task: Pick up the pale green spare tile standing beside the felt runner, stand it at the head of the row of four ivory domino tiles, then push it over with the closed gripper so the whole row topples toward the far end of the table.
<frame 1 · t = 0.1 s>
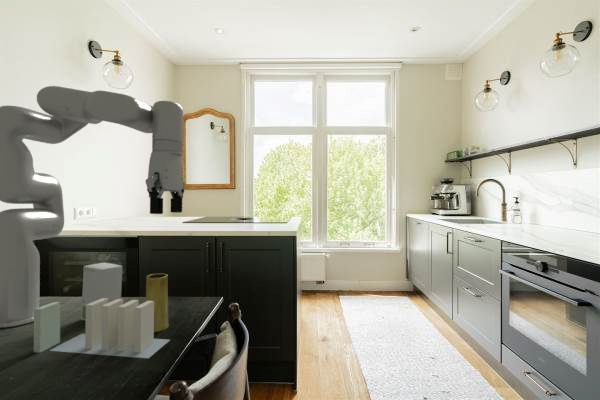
hand: (166, 213, 83), 31 cm above the table, fingers open, 9 cm apart
vase: (156, 329, 83), on the table
tile 3: (112, 344, 73), resting on runner mat
tile 2: (96, 343, 73), resting on runner mat
head tile: (47, 348, 72), on the table
tile 4: (128, 346, 72), resting on runner mat
runner mat: (112, 346, 73), on the table
skincare box: (101, 319, 90), on the table
tile 5: (144, 347, 72), resting on runner mat
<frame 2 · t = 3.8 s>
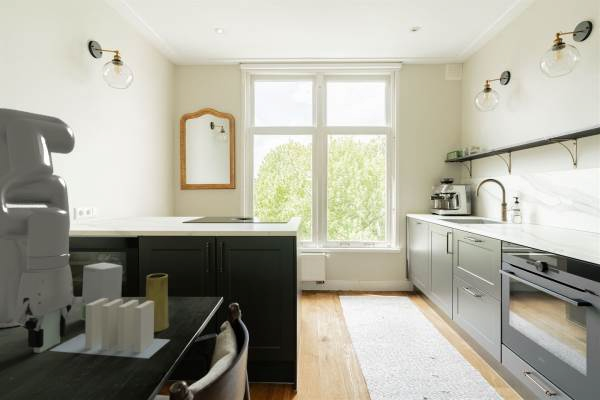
hand: (47, 340, 71), 2 cm above the table, fingers closed on head tile, 4 cm apart
head tile: (47, 348, 71), on the table, touching gripper
everything else where it was.
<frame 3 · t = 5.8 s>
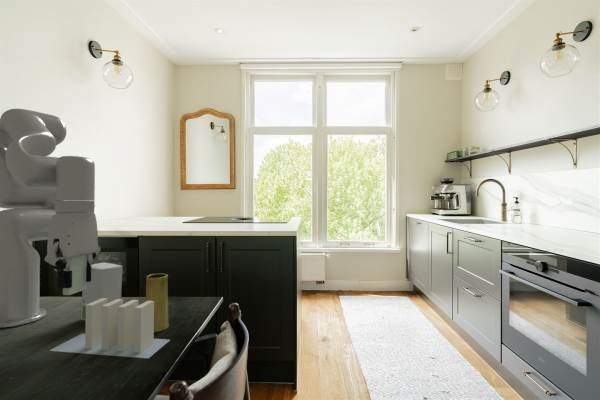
hand: (74, 283, 74), 14 cm above the table, fingers closed on head tile, 4 cm apart
head tile: (75, 291, 74), point 12 cm above the table, touching gripper
everything else where it was.
when the fingers open (3 cm above the table, at t = 8.1 s): head tile stays where it is, resting on runner mat.
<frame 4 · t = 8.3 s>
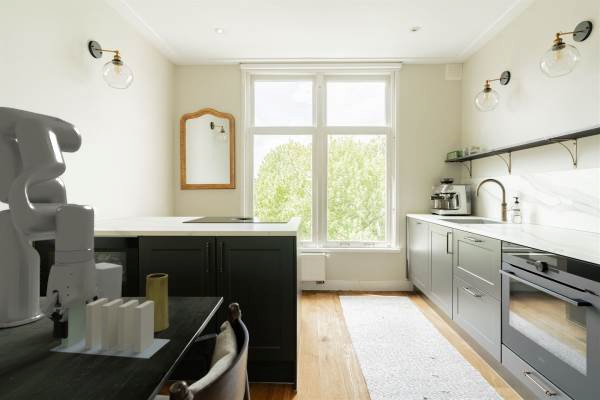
hand: (74, 330, 74), 3 cm above the table, fingers open, 6 cm apart
head tile: (74, 342, 74), resting on runner mat
everything else where it was.
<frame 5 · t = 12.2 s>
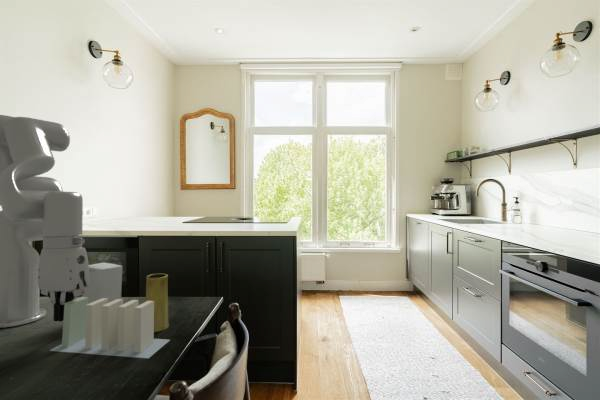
hand: (62, 319, 74), 6 cm above the table, fingers closed
head tile: (74, 341, 74), resting on runner mat, touching gripper
everything else where it was.
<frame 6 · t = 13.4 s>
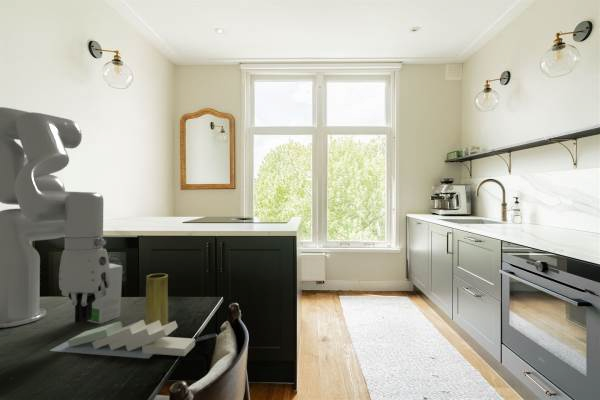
hand: (83, 320, 74), 6 cm above the table, fingers closed
tile 3: (117, 342, 73), point 1 cm above the table, tilted 66°, touching runner mat, tile 2, tile 4
tile 2: (101, 341, 73), point 1 cm above the table, tilted 66°, touching head tile, runner mat, tile 3
head tile: (77, 339, 74), point 1 cm above the table, tilted 72°, touching runner mat, tile 2
tile 4: (133, 343, 72), point 1 cm above the table, tilted 66°, touching tile 3, tile 5
tile 5: (149, 344, 72), point 1 cm above the table, tilted 90°, touching runner mat, tile 4
everything else where it was.
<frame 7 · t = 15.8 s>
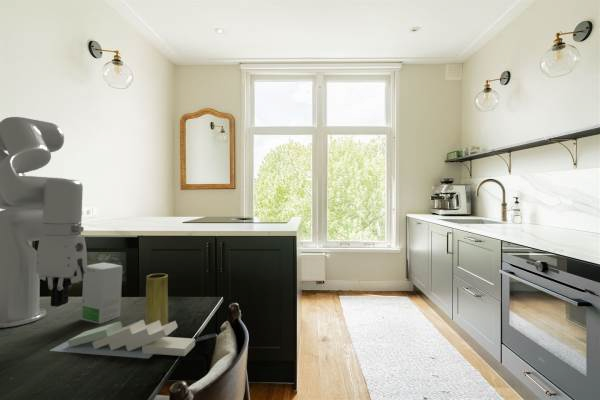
hand: (59, 304, 76), 9 cm above the table, fingers closed
nothing on the table moved.
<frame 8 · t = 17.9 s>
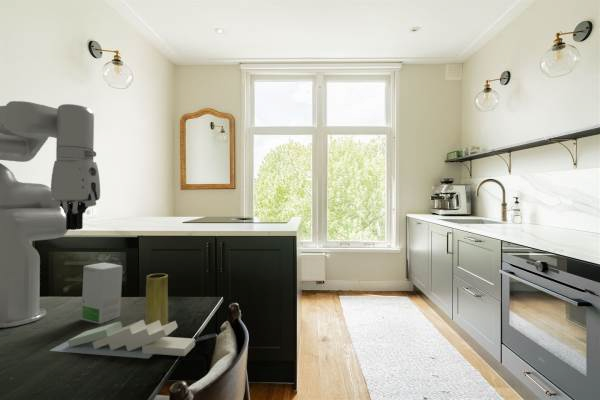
hand: (74, 229, 77), 27 cm above the table, fingers closed
nothing on the table moved.
at the end: tile 5 tilted 90°; head tile tilted 72°; the gripper is holding nothing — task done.
